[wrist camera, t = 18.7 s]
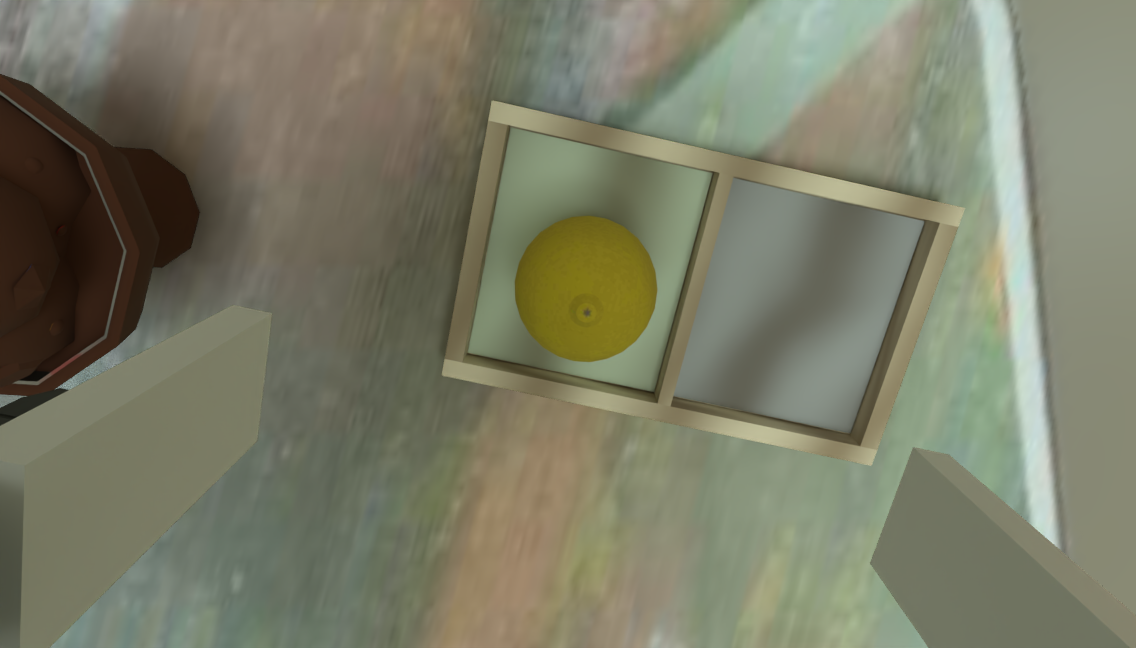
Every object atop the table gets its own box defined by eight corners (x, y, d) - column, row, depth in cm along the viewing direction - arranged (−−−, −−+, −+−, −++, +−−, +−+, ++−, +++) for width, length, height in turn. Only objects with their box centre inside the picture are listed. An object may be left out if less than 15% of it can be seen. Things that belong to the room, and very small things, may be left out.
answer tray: (449, 360, 34) (441, 375, 32) (497, 101, 31) (491, 100, 29) (853, 445, 35) (871, 465, 33) (939, 202, 32) (965, 208, 30)
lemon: (642, 331, 33) (661, 394, 25) (520, 325, 33) (502, 385, 25) (652, 208, 31) (675, 235, 24) (525, 202, 31) (506, 226, 24)
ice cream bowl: (87, 26, 31) (-350, -60, 16) (306, 196, 32) (88, 255, 18) (-28, 220, 33) (-502, 296, 18) (182, 369, 35) (-100, 544, 20)
